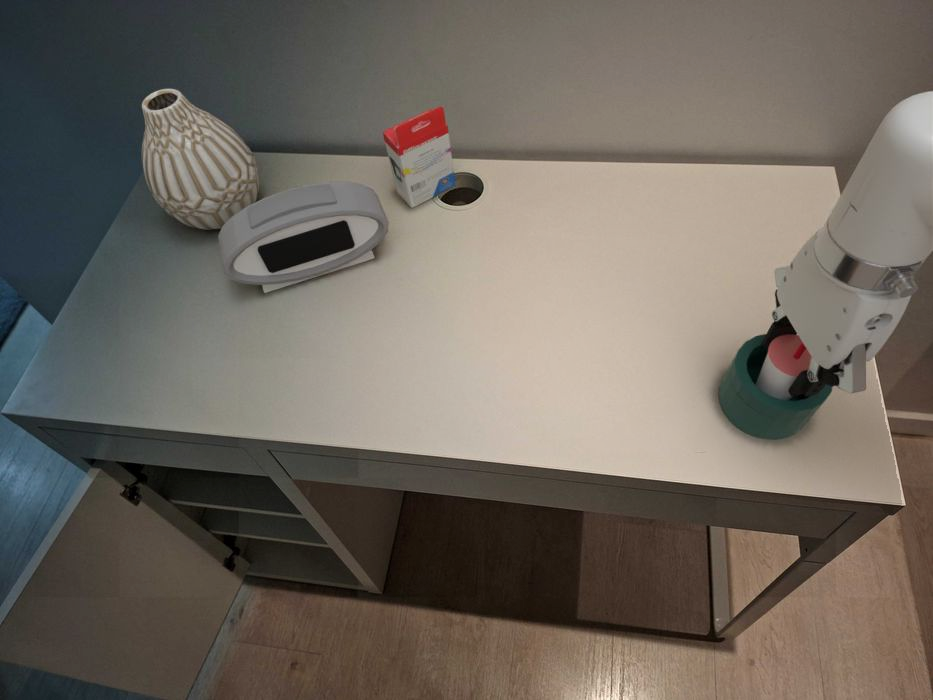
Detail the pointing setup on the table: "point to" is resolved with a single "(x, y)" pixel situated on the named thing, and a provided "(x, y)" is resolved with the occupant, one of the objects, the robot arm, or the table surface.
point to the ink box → (421, 156)
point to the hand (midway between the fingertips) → (789, 365)
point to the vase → (195, 162)
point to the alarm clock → (302, 234)
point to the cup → (783, 366)
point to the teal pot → (762, 398)
